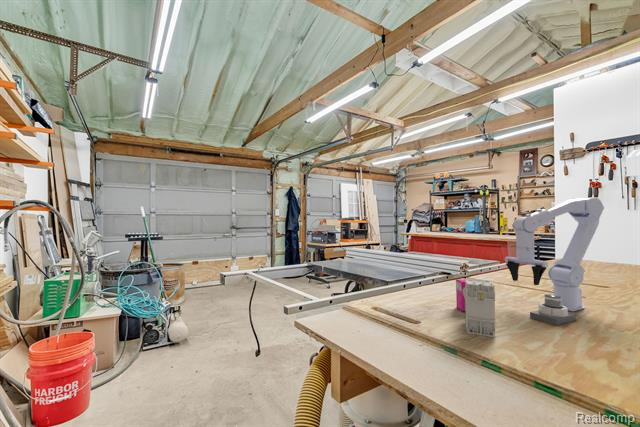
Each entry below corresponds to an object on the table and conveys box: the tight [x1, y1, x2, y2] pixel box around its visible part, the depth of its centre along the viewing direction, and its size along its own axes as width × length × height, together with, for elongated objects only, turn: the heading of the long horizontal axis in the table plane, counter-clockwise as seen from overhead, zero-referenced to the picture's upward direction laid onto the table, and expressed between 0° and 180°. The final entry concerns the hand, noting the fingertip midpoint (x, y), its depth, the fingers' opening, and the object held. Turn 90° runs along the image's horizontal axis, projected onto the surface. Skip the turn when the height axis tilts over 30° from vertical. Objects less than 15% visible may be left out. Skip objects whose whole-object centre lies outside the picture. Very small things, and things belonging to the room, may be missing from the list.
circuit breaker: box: [464, 278, 496, 338], centre depth 92 cm, size 8×14×15 cm, turn 155°
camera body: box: [529, 302, 577, 326], centre depth 99 cm, size 12×8×4 cm, turn 115°
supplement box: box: [455, 278, 466, 313], centre depth 108 cm, size 6×6×12 cm
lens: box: [543, 293, 561, 309], centre depth 99 cm, size 4×4×6 cm
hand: (525, 282), depth 110 cm, fingers open, 7 cm apart
